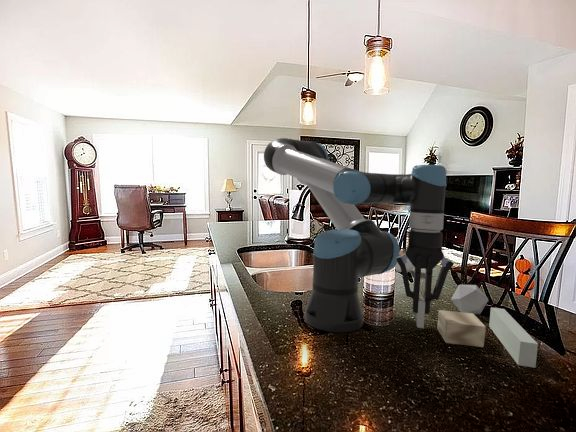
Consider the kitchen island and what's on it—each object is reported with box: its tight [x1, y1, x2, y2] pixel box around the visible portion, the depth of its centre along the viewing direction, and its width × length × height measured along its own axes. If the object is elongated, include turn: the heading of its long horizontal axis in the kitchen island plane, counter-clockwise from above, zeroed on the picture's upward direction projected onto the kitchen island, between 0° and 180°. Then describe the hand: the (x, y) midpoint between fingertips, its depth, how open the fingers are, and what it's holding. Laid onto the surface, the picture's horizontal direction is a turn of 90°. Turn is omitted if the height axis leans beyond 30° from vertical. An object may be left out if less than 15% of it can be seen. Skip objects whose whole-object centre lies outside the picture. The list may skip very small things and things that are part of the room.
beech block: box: [436, 309, 487, 348], centre depth 79 cm, size 8×8×5 cm
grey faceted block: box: [450, 284, 489, 315], centre depth 96 cm, size 8×9×10 cm
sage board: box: [488, 307, 539, 368], centre depth 76 cm, size 3×20×5 cm, turn 163°
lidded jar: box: [394, 248, 415, 274], centre depth 141 cm, size 11×11×9 cm
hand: (419, 325), depth 82 cm, fingers closed
